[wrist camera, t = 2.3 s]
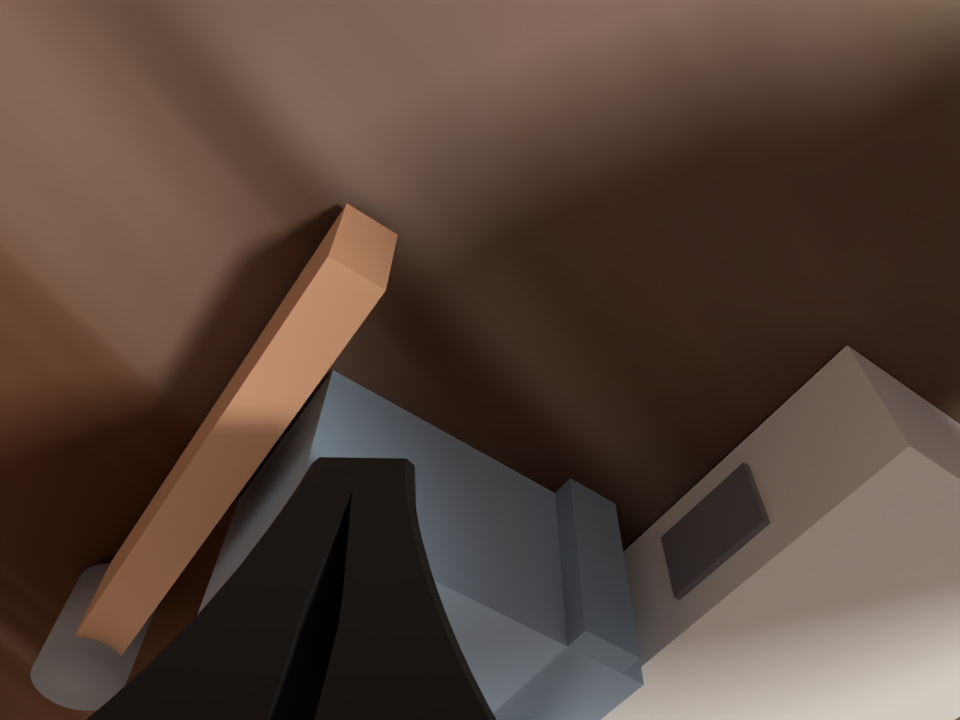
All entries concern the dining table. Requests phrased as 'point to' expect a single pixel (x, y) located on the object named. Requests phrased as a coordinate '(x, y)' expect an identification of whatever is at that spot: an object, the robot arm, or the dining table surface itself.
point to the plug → (480, 556)
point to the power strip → (810, 566)
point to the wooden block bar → (215, 465)
